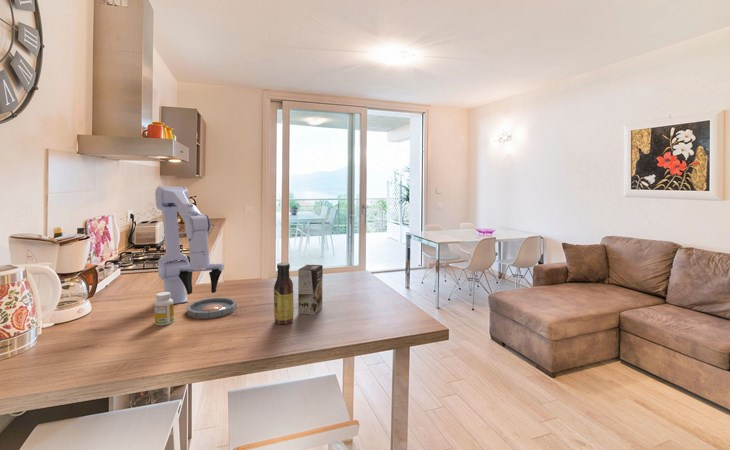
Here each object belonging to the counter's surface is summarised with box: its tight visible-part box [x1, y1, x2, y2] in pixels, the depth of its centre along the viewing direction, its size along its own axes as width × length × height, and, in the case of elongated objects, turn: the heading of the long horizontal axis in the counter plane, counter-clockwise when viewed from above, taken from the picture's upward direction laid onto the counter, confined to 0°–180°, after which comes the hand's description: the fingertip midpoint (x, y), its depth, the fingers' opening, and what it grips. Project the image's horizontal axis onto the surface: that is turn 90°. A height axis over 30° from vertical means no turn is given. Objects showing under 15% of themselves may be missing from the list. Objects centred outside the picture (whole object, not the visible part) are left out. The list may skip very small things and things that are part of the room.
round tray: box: [186, 296, 238, 319], centre depth 124 cm, size 16×16×2 cm
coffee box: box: [297, 264, 324, 316], centre depth 125 cm, size 9×6×16 cm
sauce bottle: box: [273, 261, 294, 325], centre depth 113 cm, size 7×6×20 cm
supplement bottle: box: [153, 291, 175, 326], centre depth 112 cm, size 5×5×10 cm
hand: (202, 292), depth 113 cm, fingers open, 7 cm apart
